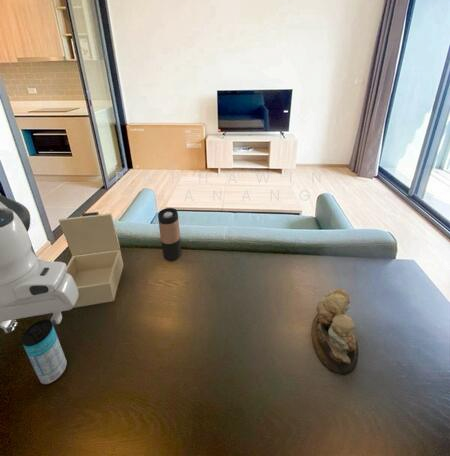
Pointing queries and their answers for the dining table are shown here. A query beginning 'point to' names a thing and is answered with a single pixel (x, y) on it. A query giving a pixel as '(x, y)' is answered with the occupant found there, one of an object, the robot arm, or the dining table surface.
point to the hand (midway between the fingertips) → (35, 325)
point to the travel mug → (170, 233)
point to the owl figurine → (335, 333)
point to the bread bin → (96, 276)
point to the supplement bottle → (44, 351)
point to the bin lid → (90, 233)
